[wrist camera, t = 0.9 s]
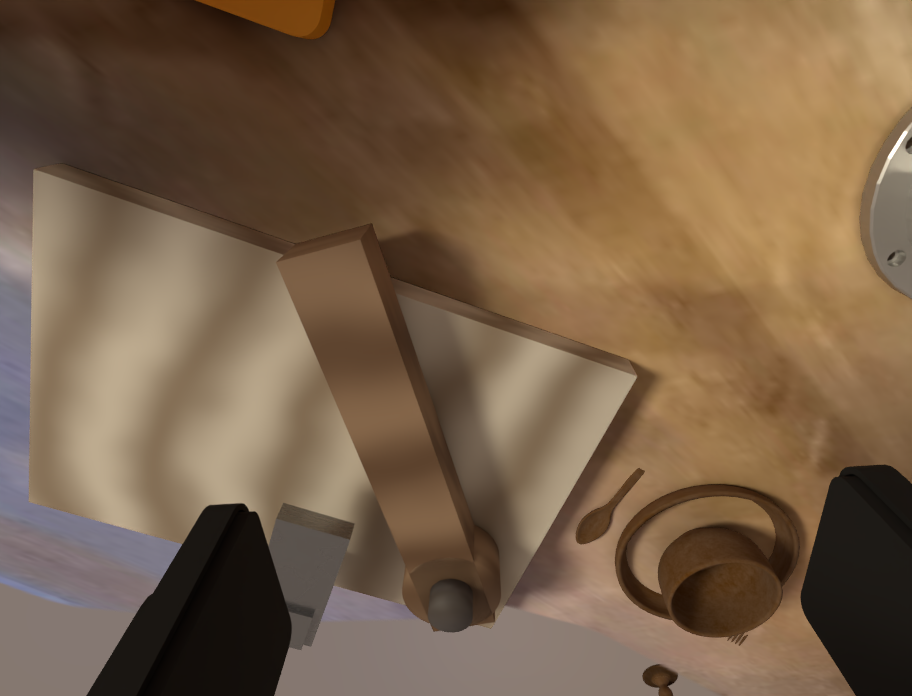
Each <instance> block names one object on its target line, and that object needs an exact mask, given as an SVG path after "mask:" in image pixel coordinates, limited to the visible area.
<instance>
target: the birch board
mask: <svg viewBox="0 0 912 696" xmlns="http://www.w3.org/2000/svg"><path fill="white" fill-rule="evenodd" d="M294 245H295V244H293V243H290V242H288V241H285V240H282V239H279V238H276V237H273V236H270V235H267V234H265V233H262V232H259V231H256V230H253V229H250V228H247V227H244V226H241V225H239V224H236V223H233V222H230V221H227V220H224V219H221V218H218V217H216V216H213V215H210V214H207V213H204V212H201V211H198V210H195V209H192V208H190V207H187V206H184V205H181V204H178V203H175V202H172V201H169V200H167V199H164V198H161V197H158V196H155V195H152V194H149V193H146V192H143V191H141V190H138V189H135V188H132V187H129V186H126V185H123V184H120V183H118V182H115V181H112V180H109V179H106V178H103V177H100V176H97V175H94V174H92V173H89V172H86V171H83V170H80V169H77V168H74V167H71V166H68V165H66V164H63V163H60V164H55V165H50V166H45V167H40V168H36V169H33V239H32V311H31V383H30V455H29V502H31V503H35V504H38V505H42V506H46V507H49V508H53V509H57V510H60V511H64V512H68V513H71V514H75V515H79V516H82V517H86V518H89V519H93V520H97V521H100V522H104V523H108V524H111V525H115V526H119V527H122V528H126V529H130V530H133V531H137V532H141V533H144V534H148V535H151V536H155V537H159V538H162V539H166V540H170V541H173V542H177V543H181V544H183V543H184V541H185V539H186V538H187V536H188V534H189V533H190V531H191V529H192V528H193V526H194V524H195V523H196V521H197V519H198V518H199V516H200V514H201V513H202V511H203V510H204V509H205V507H207V506H209V505H217V504H234V503H244V504H245V505H246V506H247V507H248V509H249V511H255V512H257V513H258V515H259V518H260V521H261V524H262V527H263V531H264V534H265V537H266V540H267V544H268V546H269V542H270V539H271V535H272V532H273V528H274V525H275V521H276V518H277V516H278V513H279V511H280V509H281V507H282V505H283V503H286V504H289V505H293V506H296V507H300V508H303V509H307V510H310V511H314V512H317V513H320V514H324V515H327V516H331V517H334V518H338V519H341V520H345V521H348V522H352V523H355V524H354V528H353V532H352V535H351V539H350V542H349V545H348V547H347V550H346V553H345V556H344V558H343V561H342V564H341V566H340V569H339V572H338V575H337V577H336V580H335V583H334V586H337V587H341V588H345V589H348V590H352V591H356V592H359V593H363V594H367V595H370V596H374V597H378V598H381V599H385V600H388V601H392V602H396V603H399V604H403V605H406V604H405V602H404V600H403V596H402V585H403V579H404V572H405V563H404V561H403V559H402V556H401V554H400V552H399V549H398V547H397V545H396V542H395V540H394V538H393V535H392V533H391V531H390V528H389V526H388V524H387V521H386V519H385V517H384V514H383V512H382V510H381V507H380V505H379V503H378V500H377V498H376V496H375V493H374V491H373V489H372V486H371V484H370V482H369V479H368V477H367V475H366V472H365V470H364V467H363V465H362V463H361V460H360V458H359V456H358V453H357V451H356V449H355V446H354V444H353V442H352V439H351V437H350V435H349V432H348V430H347V428H346V425H345V423H344V421H343V418H342V416H341V414H340V411H339V409H338V407H337V404H336V402H335V400H334V397H333V395H332V393H331V390H330V388H329V386H328V383H327V381H326V379H325V376H324V374H323V372H322V369H321V367H320V365H319V362H318V360H317V358H316V355H315V353H314V351H313V348H312V346H311V344H310V341H309V339H308V336H307V334H306V332H305V329H304V327H303V325H302V322H301V320H300V318H299V315H298V313H297V311H296V308H295V306H294V304H293V301H292V299H291V297H290V294H289V292H288V290H287V287H286V285H285V283H284V280H283V278H282V276H281V273H280V271H279V269H278V266H277V264H276V262H277V261H278V260H279V259H280V258H281V257H282V256H283V255H284V254H285V253H286V252H287V251H289V250H290V249H291V248H292V247H293V246H294ZM390 278H391V277H390ZM391 281H392V284H393V287H394V290H395V293H396V296H397V299H398V302H399V305H400V308H401V311H402V314H403V316H404V319H405V322H406V325H407V328H408V331H409V334H410V337H411V340H412V343H413V346H414V349H415V352H416V355H417V358H418V361H419V364H420V366H421V369H422V372H423V375H424V378H425V381H426V384H427V387H428V390H429V393H430V396H431V399H432V402H433V405H434V408H435V411H436V414H437V417H438V419H439V422H440V425H441V428H442V431H443V434H444V437H445V440H446V443H447V446H448V449H449V452H450V455H451V458H452V461H453V464H454V467H455V469H456V472H457V475H458V478H459V481H460V484H461V487H462V490H463V493H464V496H465V499H466V502H467V505H468V508H469V511H470V514H471V517H472V519H473V522H474V525H475V526H478V527H480V528H481V529H483V530H484V531H486V532H487V533H488V534H489V535H490V536H491V537H492V538H493V539H494V541H495V542H496V544H497V546H498V550H499V561H500V582H501V600H500V603H499V605H498V607H497V609H496V610H495V621H496V620H497V618H498V616H499V615H500V613H501V611H502V609H503V608H504V606H505V604H506V603H507V601H508V599H509V597H510V596H511V594H512V592H513V590H514V589H515V587H516V585H517V584H518V582H519V580H520V578H521V577H522V575H523V573H524V571H525V570H526V568H527V566H528V565H529V563H530V561H531V559H532V558H533V556H534V554H535V552H536V551H537V549H538V547H539V546H540V544H541V542H542V540H543V539H544V537H545V535H546V533H547V532H548V530H549V528H550V527H551V525H552V523H553V521H554V520H555V518H556V516H557V514H558V513H559V511H560V509H561V508H562V506H563V504H564V502H565V501H566V499H567V497H568V495H569V494H570V492H571V490H572V489H573V487H574V485H575V483H576V482H577V480H578V478H579V477H580V475H581V473H582V471H583V470H584V468H585V466H586V464H587V463H588V461H589V459H590V458H591V456H592V454H593V452H594V451H595V449H596V447H597V445H598V444H599V442H600V440H601V439H602V437H603V435H604V433H605V432H606V430H607V428H608V426H609V425H610V423H611V421H612V420H613V418H614V416H615V414H616V413H617V411H618V409H619V407H620V406H621V404H622V402H623V401H624V399H625V397H626V395H627V394H628V392H629V390H630V388H631V387H632V385H633V383H634V382H635V380H636V378H637V375H636V373H635V371H634V369H633V367H632V365H631V364H630V362H629V360H628V359H625V358H622V357H619V356H616V355H613V354H610V353H608V352H605V351H602V350H599V349H596V348H593V347H590V346H587V345H585V344H582V343H579V342H576V341H573V340H570V339H567V338H564V337H561V336H559V335H556V334H553V333H550V332H547V331H544V330H541V329H538V328H536V327H533V326H530V325H527V324H524V323H521V322H518V321H515V320H512V319H510V318H507V317H504V316H501V315H498V314H495V313H492V312H489V311H487V310H484V309H481V308H478V307H475V306H472V305H469V304H466V303H463V302H461V301H458V300H455V299H452V298H449V297H446V296H443V295H440V294H438V293H435V292H432V291H429V290H426V289H423V288H420V287H417V286H414V285H412V284H409V283H406V282H403V281H400V280H397V279H394V278H391ZM494 623H495V622H493V623H486V624H480V626H483V627H487V628H492V627H493V625H494Z"/></svg>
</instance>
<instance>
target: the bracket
mask: <svg viewBox="0 0 912 696" xmlns="http://www.w3.org/2000/svg"><path fill="white" fill-rule="evenodd" d="M196 1H198V2H201V3H204V4H207V5H209V6H212V7H215V8H218V9H220V10H223V11H226V12H229V13H231V14H234V15H237V16H240V17H242V18H245V19H248V20H250V21H253V22H256V23H259V24H261V25H264V26H267V27H270V28H272V29H275V30H278V31H281V32H283V33H286V34H289V35H292V36H295V37H300V38H304V39H317V38H319V37H321V36H322V35H324V34H325V33H326V31H327V30H328V28H329V26H330V23H331V19H332V14H333V9H334V4H335V0H196Z"/></svg>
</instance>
